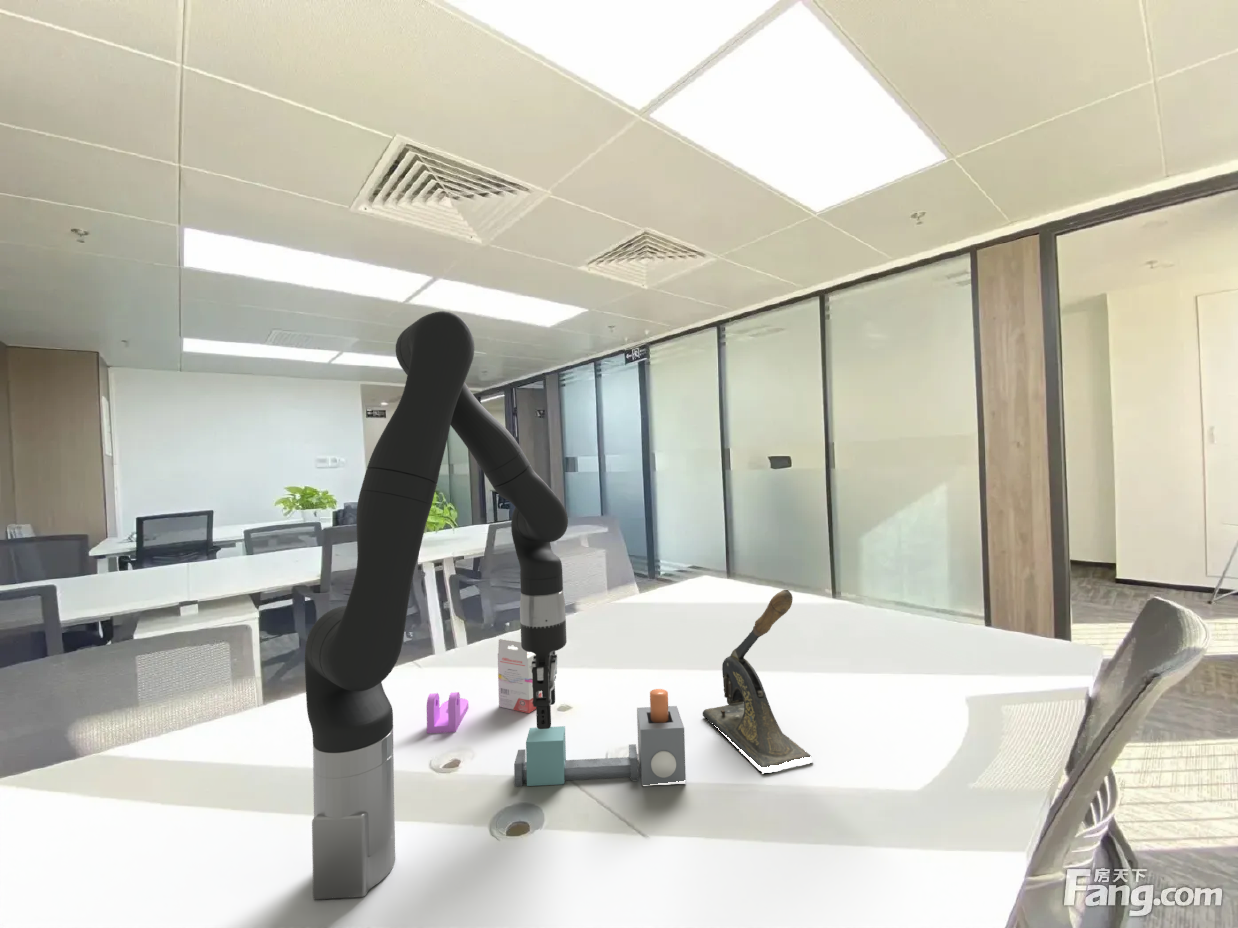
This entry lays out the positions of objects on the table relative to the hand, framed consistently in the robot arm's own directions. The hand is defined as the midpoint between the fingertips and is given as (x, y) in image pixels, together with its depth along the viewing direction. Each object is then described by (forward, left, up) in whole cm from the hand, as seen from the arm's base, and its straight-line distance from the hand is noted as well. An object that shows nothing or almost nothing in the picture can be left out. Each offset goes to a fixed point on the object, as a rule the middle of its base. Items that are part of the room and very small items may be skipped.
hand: (546, 715), depth 88 cm
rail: (0, -5, -10) cm, 11 cm away
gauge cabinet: (0, -19, -10) cm, 21 cm away
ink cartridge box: (+28, +9, -10) cm, 31 cm away
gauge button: (0, -19, -1) cm, 19 cm away
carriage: (0, 0, -10) cm, 10 cm away
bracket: (+24, +23, -10) cm, 34 cm away
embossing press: (+9, -37, -10) cm, 40 cm away
